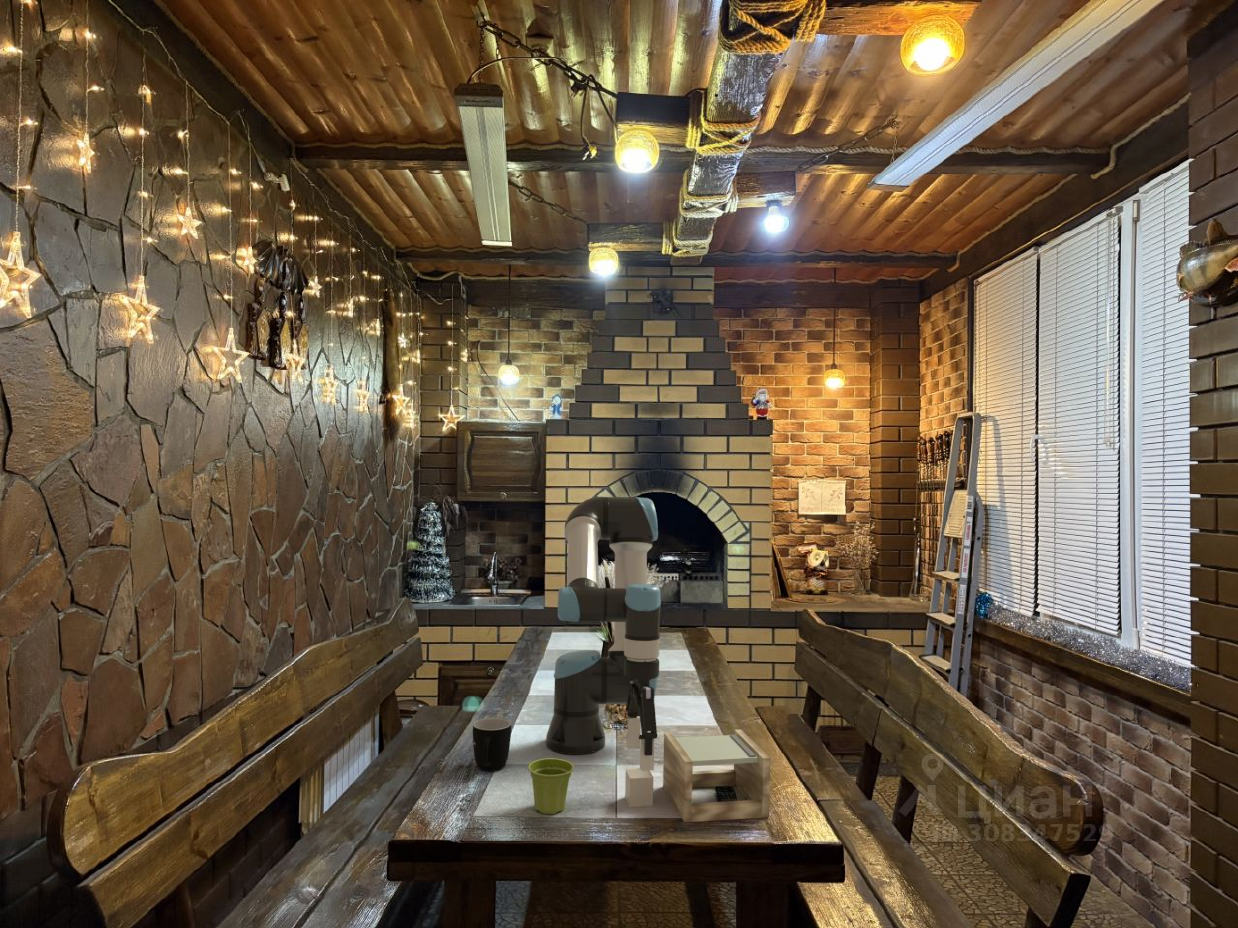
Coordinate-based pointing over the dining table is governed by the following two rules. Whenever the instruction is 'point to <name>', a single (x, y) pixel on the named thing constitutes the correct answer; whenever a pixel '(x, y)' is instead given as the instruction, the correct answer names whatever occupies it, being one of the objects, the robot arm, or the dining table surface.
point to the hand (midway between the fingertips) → (639, 758)
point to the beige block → (639, 788)
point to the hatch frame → (716, 784)
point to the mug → (491, 743)
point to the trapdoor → (716, 750)
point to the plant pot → (550, 783)
